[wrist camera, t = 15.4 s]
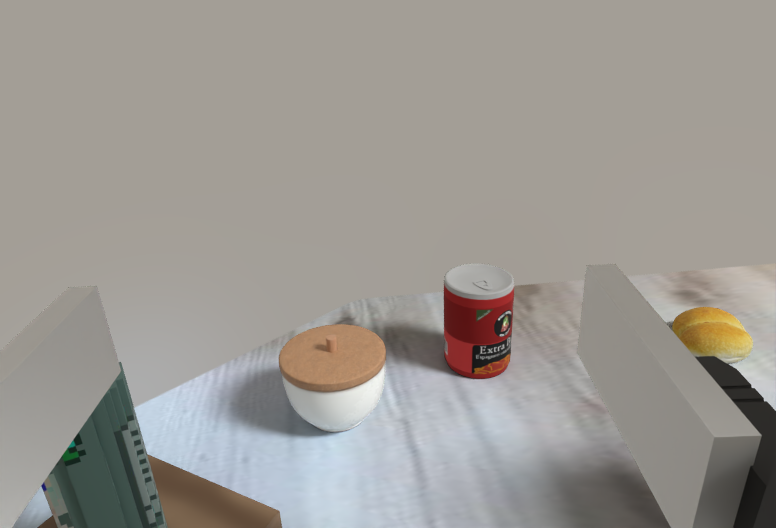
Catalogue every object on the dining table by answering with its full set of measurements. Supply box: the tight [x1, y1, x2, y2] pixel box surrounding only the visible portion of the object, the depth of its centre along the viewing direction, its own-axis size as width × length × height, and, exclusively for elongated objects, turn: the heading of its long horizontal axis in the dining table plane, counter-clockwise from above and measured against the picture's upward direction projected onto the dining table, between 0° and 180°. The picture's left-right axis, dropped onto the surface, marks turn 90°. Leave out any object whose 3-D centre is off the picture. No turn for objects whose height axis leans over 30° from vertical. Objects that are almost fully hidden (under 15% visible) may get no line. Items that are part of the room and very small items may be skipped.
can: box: [41, 362, 168, 528], centre depth 39 cm, size 6×6×15 cm
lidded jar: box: [279, 324, 386, 432], centre depth 60 cm, size 11×11×9 cm
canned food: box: [444, 264, 514, 379], centre depth 67 cm, size 8×8×11 cm
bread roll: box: [672, 307, 753, 364], centre depth 70 cm, size 8×9×4 cm
